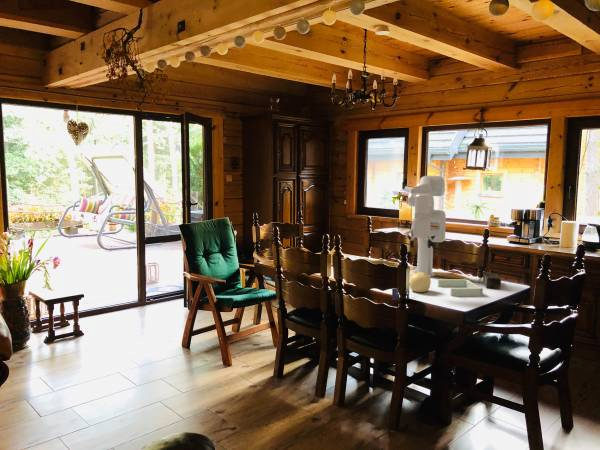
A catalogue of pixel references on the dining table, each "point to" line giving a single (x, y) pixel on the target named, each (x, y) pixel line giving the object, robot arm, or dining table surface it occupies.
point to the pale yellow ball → (420, 282)
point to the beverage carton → (491, 280)
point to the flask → (397, 295)
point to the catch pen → (469, 291)
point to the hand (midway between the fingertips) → (420, 247)
